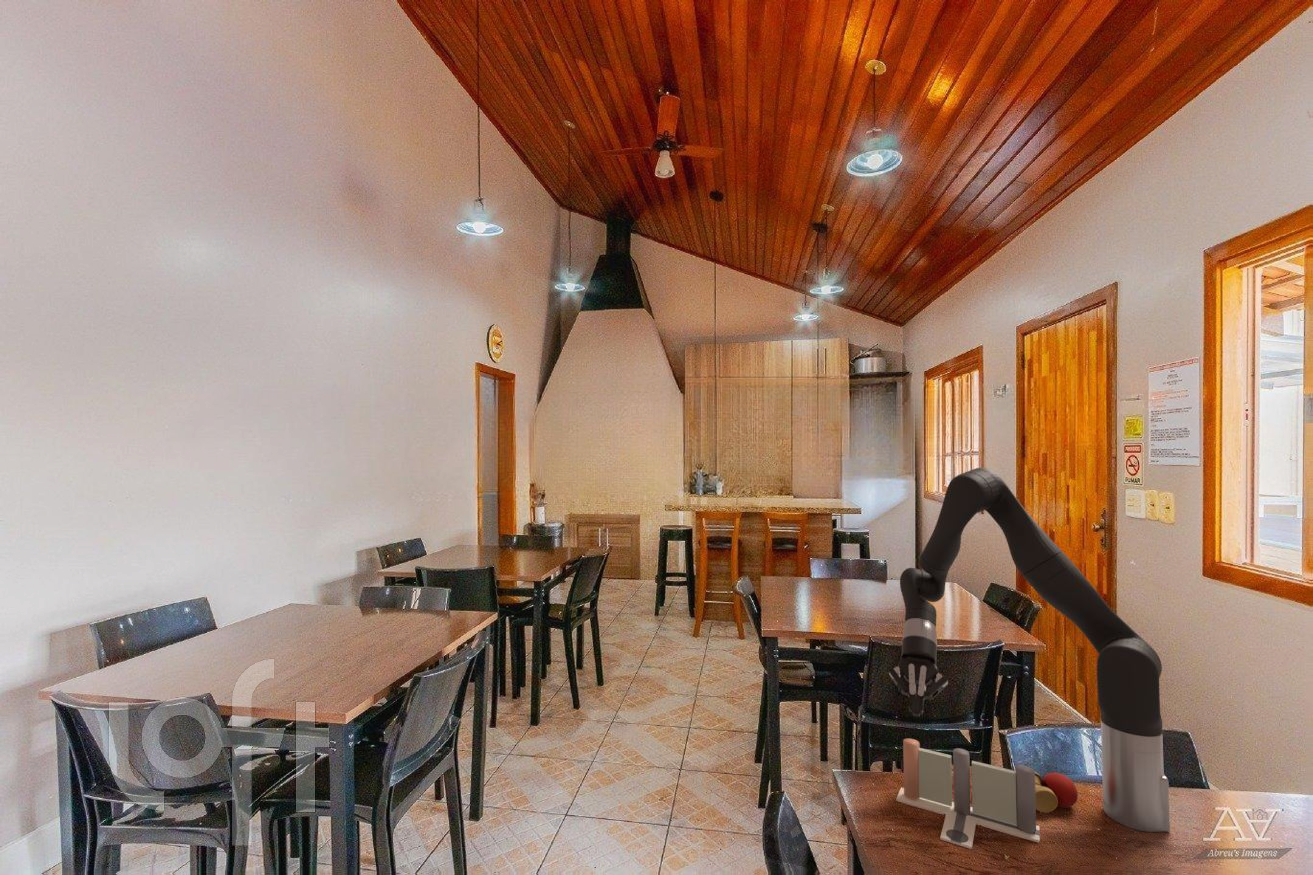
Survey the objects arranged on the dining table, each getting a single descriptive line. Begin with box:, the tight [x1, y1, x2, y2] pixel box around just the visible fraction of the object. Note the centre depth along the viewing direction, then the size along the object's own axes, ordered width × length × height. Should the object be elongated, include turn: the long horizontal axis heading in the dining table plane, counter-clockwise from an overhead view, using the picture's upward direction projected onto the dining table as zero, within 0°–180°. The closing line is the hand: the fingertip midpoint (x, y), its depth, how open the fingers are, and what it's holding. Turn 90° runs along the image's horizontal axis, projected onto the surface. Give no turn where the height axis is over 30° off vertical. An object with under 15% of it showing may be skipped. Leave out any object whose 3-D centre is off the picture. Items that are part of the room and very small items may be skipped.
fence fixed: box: [952, 748, 1037, 832], centre depth 111 cm, size 13×3×11 cm, turn 57°
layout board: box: [895, 787, 1041, 850], centre depth 110 cm, size 24×14×1 cm, turn 57°
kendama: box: [1035, 771, 1079, 814], centre depth 118 cm, size 8×6×18 cm
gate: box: [902, 738, 953, 806], centre depth 117 cm, size 9×3×10 cm, turn 57°
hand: (915, 714), depth 130 cm, fingers closed
